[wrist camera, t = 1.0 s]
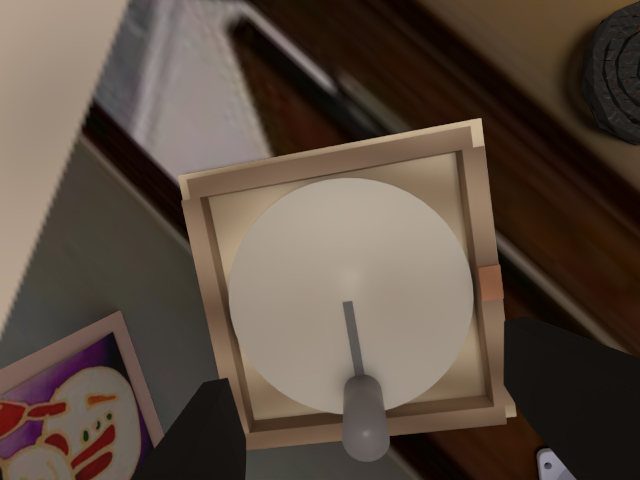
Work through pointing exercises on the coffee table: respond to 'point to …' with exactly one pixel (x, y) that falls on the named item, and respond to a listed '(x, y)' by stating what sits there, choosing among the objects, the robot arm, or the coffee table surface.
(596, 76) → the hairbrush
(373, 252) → the dial
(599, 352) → the robot arm
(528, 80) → the coffee table surface
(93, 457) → the greeting card
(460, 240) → the dial housing
